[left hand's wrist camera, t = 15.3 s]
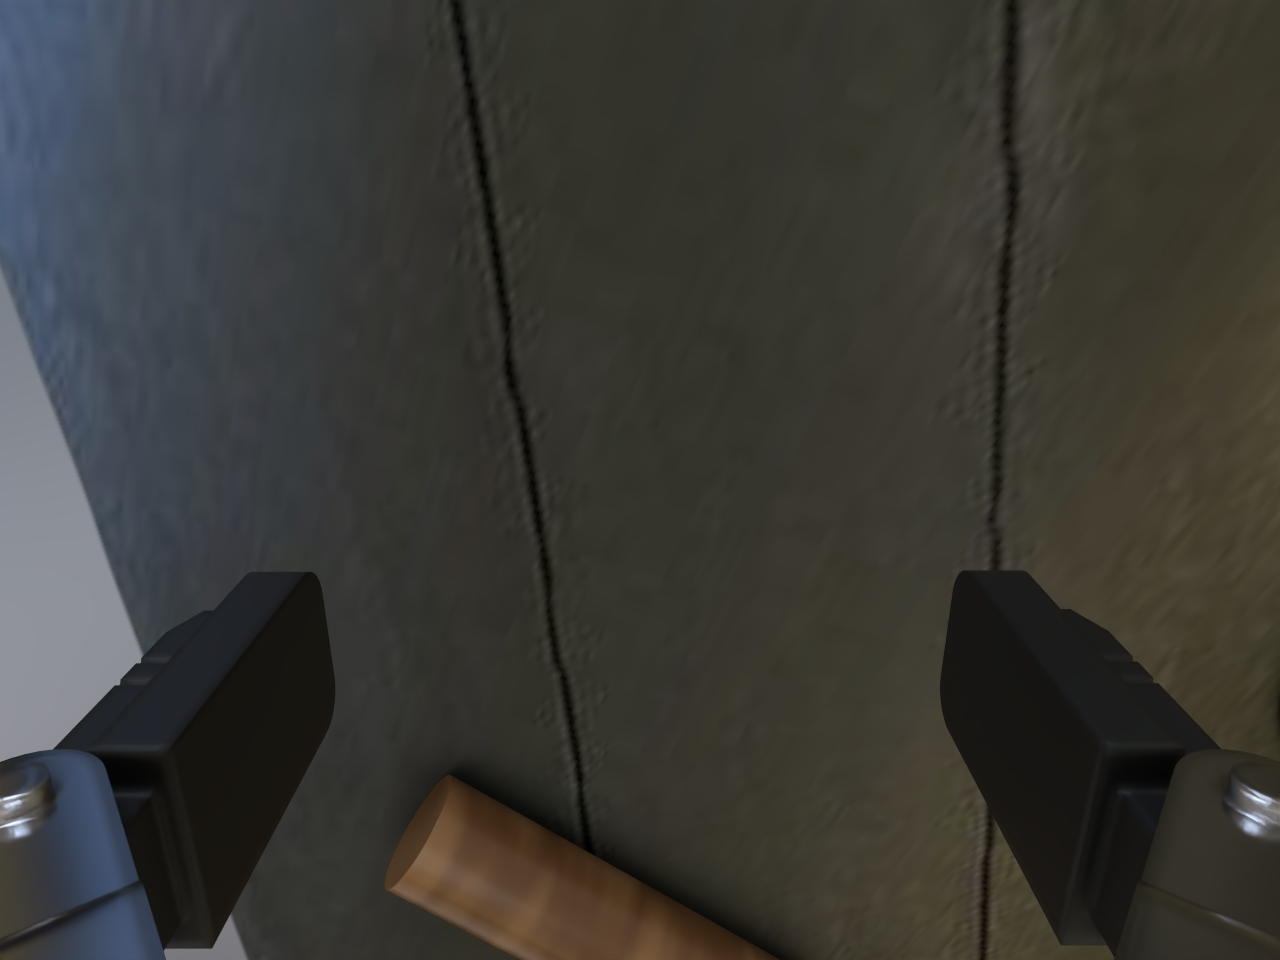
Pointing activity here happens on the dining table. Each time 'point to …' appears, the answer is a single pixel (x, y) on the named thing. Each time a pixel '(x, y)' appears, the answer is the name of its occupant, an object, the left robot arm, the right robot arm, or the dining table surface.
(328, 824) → the dining table surface
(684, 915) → the rod
